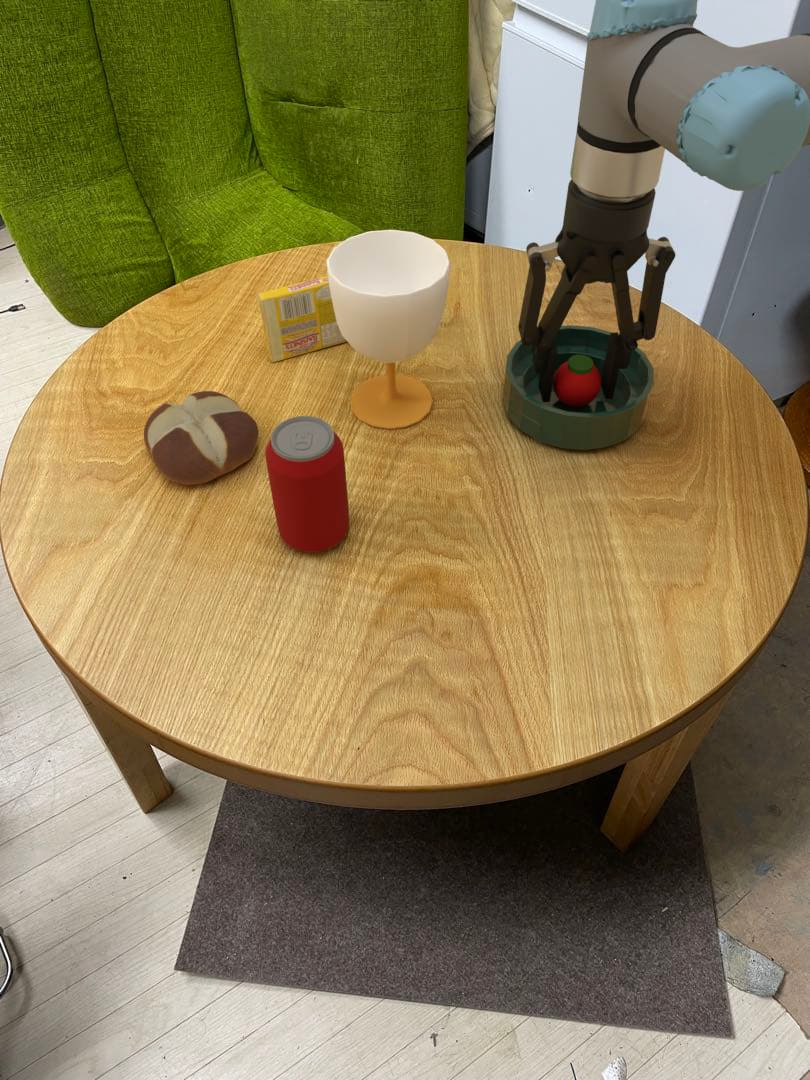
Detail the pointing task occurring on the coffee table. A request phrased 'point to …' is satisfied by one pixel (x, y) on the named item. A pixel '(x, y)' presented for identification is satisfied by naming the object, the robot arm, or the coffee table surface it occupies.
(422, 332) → the cup
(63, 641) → the coffee table surface
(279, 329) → the candy box
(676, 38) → the robot arm
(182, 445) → the bread
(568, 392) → the tomato
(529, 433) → the bowl
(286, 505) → the beverage can
